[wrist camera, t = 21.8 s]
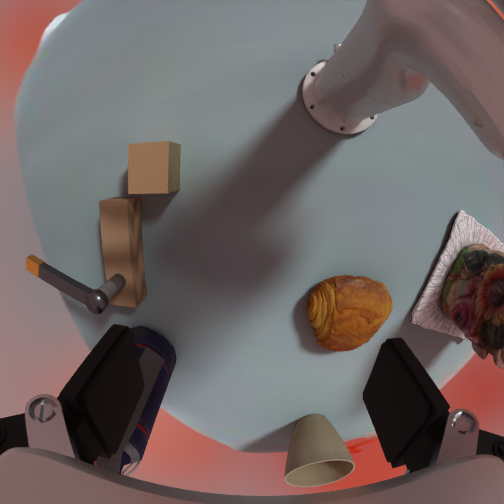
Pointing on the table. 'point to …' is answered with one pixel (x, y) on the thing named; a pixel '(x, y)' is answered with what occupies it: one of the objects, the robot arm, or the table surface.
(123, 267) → the plane body
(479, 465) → the robot arm
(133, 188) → the brushed brass block
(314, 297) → the croissant
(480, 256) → the cookie jar
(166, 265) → the table surface
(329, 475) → the plant pot
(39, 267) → the lever
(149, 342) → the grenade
